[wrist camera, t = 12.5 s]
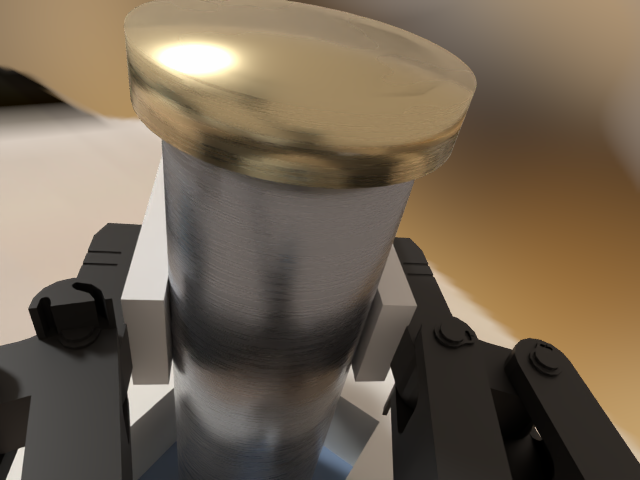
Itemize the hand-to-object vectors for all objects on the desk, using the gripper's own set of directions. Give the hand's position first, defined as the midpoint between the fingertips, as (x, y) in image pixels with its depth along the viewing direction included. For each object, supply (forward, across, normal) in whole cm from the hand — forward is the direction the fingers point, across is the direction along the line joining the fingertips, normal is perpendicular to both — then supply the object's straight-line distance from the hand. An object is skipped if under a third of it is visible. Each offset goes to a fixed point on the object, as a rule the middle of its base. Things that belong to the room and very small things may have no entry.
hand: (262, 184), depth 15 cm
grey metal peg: (-5, 0, -8) cm, 10 cm away
